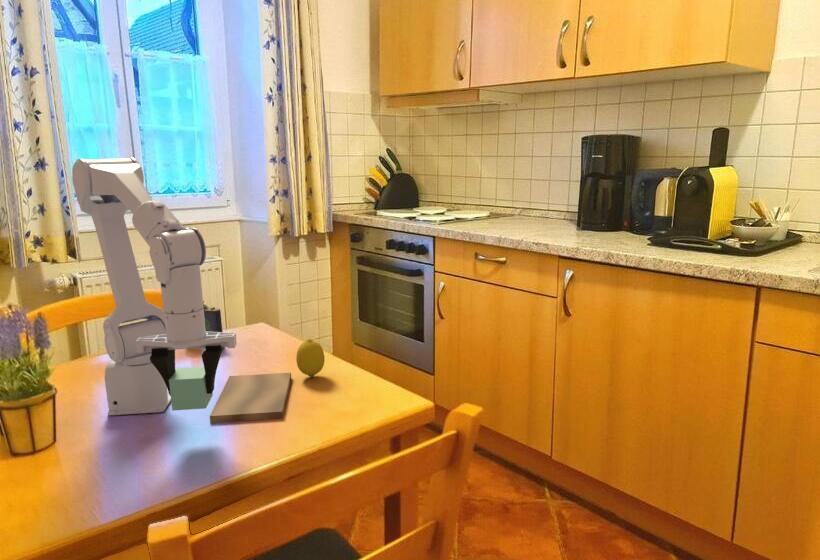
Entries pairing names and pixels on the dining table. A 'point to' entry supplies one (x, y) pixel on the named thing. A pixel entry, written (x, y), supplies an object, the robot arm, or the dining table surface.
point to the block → (189, 389)
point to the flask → (212, 319)
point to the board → (252, 398)
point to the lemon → (310, 358)
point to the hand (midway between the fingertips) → (192, 392)
